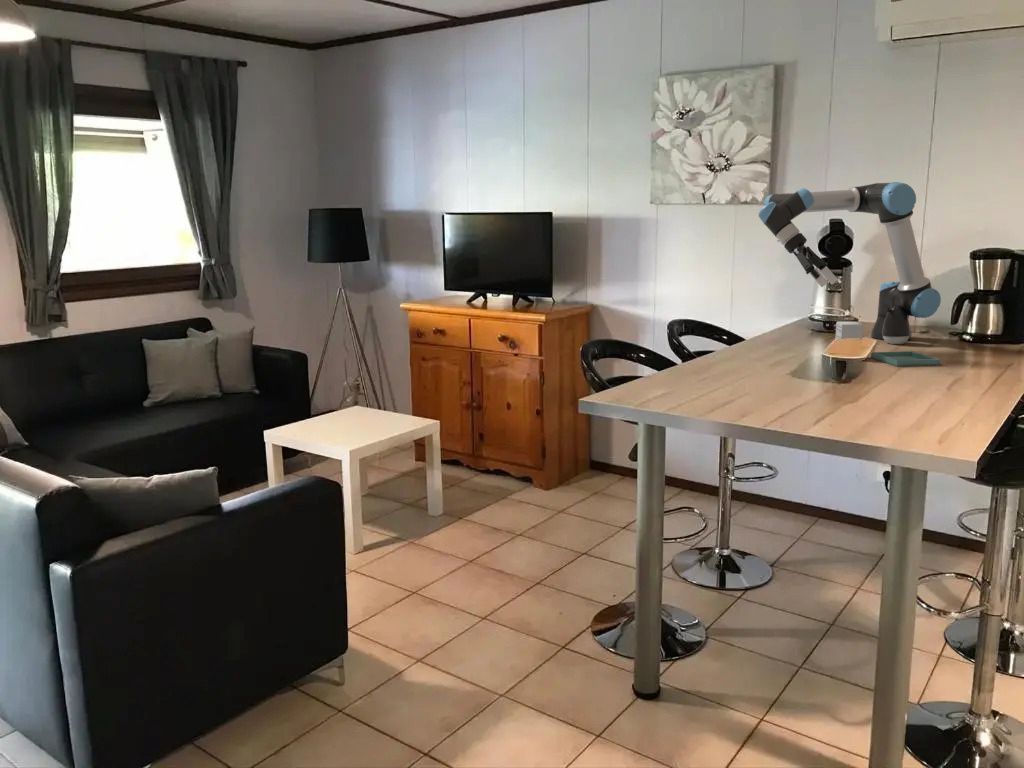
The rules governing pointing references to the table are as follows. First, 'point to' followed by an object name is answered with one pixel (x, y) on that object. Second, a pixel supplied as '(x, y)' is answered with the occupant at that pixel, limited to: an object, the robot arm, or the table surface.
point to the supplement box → (848, 330)
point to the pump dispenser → (896, 326)
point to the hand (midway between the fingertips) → (830, 283)
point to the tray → (905, 358)
